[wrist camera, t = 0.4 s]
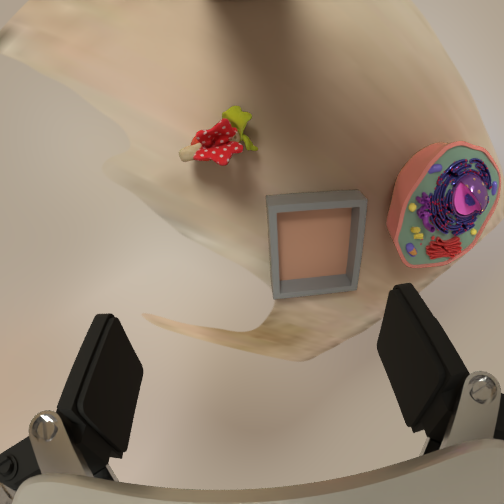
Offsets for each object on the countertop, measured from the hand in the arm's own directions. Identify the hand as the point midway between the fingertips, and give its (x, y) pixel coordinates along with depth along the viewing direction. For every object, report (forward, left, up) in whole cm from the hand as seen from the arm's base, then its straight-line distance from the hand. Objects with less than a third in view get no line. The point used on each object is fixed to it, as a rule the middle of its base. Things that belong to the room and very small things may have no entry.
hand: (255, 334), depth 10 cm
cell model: (+8, +27, -32) cm, 42 cm away
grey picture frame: (+15, +9, -31) cm, 36 cm away
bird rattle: (-1, -3, -32) cm, 32 cm away
